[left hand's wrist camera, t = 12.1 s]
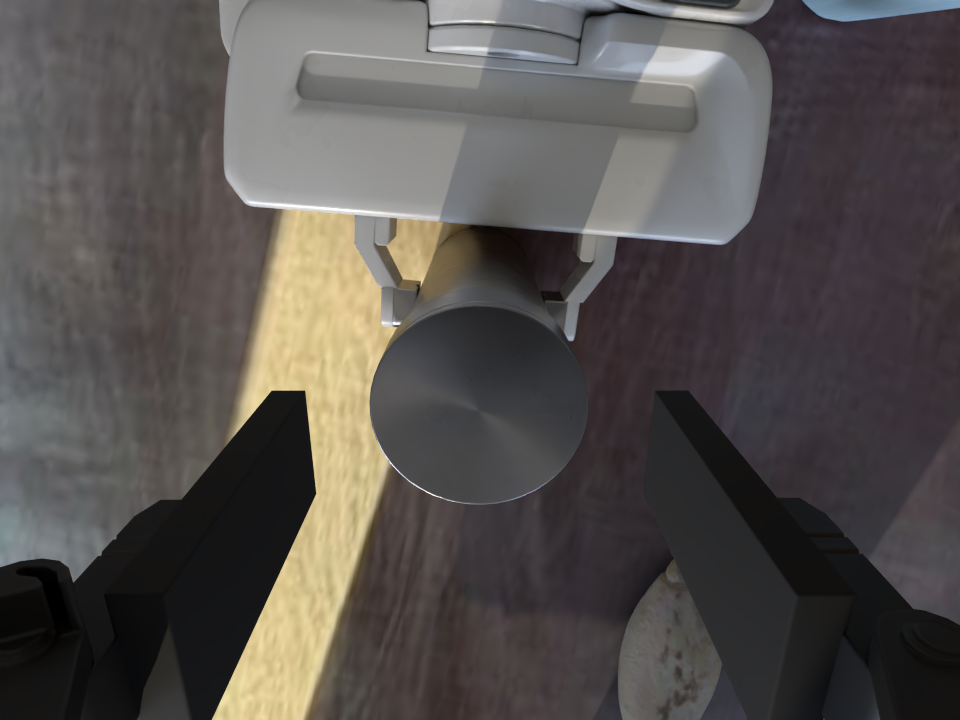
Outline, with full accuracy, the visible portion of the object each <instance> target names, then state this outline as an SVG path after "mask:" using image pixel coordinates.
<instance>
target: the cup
mask: <svg viewBox="0 0 960 720" xmlns="http://www.w3.org/2000/svg"><path fill="white" fill-rule="evenodd" d="M802 1H803V2H804V3H805V4H806V5H807V6H808V7H809V8H810V9H811V10H812V11H814V12H815V13H816V14H817V15H819V16H821V17H823V18H826V19H832V20H837V21H856V20H865V19H874V18H882V17H890V16H898V15H906V14H914V13H922V12H930V11H938V10H946V9H954V8H960V0H802Z"/></svg>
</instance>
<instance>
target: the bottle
mask: <svg viewBox="0 0 960 720" xmlns="http://www.w3.org/2000/svg"><path fill="white" fill-rule="evenodd" d="M473 287H480V288H494V289H500V290H504V291H508V292H511V293H515V294H517V295H519V296H522V297H524V298H526V299H528V300H530V301H531V302H533V303H535V304H536V305H538V306H539V307H541V308H542V309H543V310H544V311H546V312H547V313H548V311H547V309H546V306H545V304H544V301H543V299H542V296H541V294H540V291H539V289H538V286H537V284H536V281H535V279H534V276H533V274H532V271H531V269H530V266H529V264H528V261H527V259H526V257H525V255H524V253H523V251H522V250H521V248H520V247H519V246H518V245H517V244H516V243H515V241H513V240H512V239H511V238H510V237H508V236H507V235H505V234H503V233H501V232H499V231H496V230H493V229H488V228H470V229H466V230H463V231H460V232H458V233H456V234H454V235H452V236H451V237H449V238H448V239H447V240H446V241H445V242H444V243H443V244H442V245H441V246H440V247H439V248H438V250H437V251H436V253H435V255H434V257H433V259H432V262H431V264H430V266H429V269H428V271H427V274H426V276H425V279H424V281H423V284H422V286H421V288H420V291H419V293H418V296H417V298H416V301H415V303H414V306H413V308H412V311H414V310H415V309H416V308H418V307H419V306H420V305H422V304H423V303H425V302H427V301H429V300H430V299H432V298H434V297H436V296H439V295H441V294H444V293H446V292H450V291H454V290H458V289H464V288H473ZM412 311H411V312H412Z"/></svg>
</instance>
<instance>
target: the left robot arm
mask: <svg viewBox="0 0 960 720" xmlns="http://www.w3.org/2000/svg"><path fill="white" fill-rule="evenodd" d="M315 495H316V488H315V478H314V469H313V460H312V451H311V441H310V432H309V423H308V414H307V404H306V395H305V391H271V392H270V394H269V395H268V396H267V397H266V398H265V400H264V401H263V402H262V403H261V404H260V406H259V407H258V408H257V409H256V410H255V412H254V413H253V414H252V415H251V417H250V418H249V419H248V420H247V421H246V423H245V424H244V425H243V426H242V427H241V429H240V430H239V431H238V432H237V433H236V435H235V436H234V437H233V438H232V439H231V441H230V442H229V443H228V444H227V446H226V447H225V448H224V449H223V450H222V452H221V453H220V454H219V455H218V456H217V458H216V459H215V460H214V461H213V462H212V464H211V465H210V466H209V467H208V468H207V470H206V471H205V472H204V473H203V475H202V476H201V477H200V478H199V479H198V481H197V482H196V483H195V484H194V485H193V487H192V488H191V489H190V490H189V491H188V493H187V494H186V495H185V496H184V497H183V499H182V500H160V501H158V502H157V503H155V504H153V505H152V506H150V507H149V508H147V509H145V510H144V511H142V512H141V513H139V514H137V515H136V516H134V517H133V519H132V520H131V521H130V522H129V523H128V524H127V525H126V526H125V527H124V528H123V529H122V531H121V532H120V533H119V534H118V535H117V539H116V540H112V541H111V543H110V544H109V545H108V546H107V547H106V548H105V549H104V550H103V551H102V555H101V556H98V557H97V558H96V559H95V560H94V561H93V562H92V563H91V564H90V565H89V567H88V568H87V569H86V570H85V571H84V572H83V573H82V574H81V575H80V576H79V577H78V579H77V580H76V581H75V582H74V583H73V581H72V577H71V574H70V570H69V568H68V567H67V566H65V565H64V564H63V563H61V562H60V561H56V560H49V559H35V560H27V561H20V562H16V563H13V564H10V565H7V566H3V567H0V720H212V718H213V716H214V714H215V712H216V709H217V707H218V705H219V703H220V701H221V699H222V696H223V694H224V692H225V690H226V688H227V686H228V683H229V681H230V679H231V677H232V675H233V673H234V670H235V668H236V666H237V664H238V662H239V660H240V657H241V655H242V653H243V651H244V649H245V647H246V644H247V642H248V640H249V638H250V636H251V634H252V631H253V629H254V627H255V625H256V623H257V621H258V618H259V616H260V614H261V612H262V610H263V608H264V606H265V603H266V601H267V599H268V597H269V595H270V593H271V590H272V588H273V586H274V584H275V582H276V580H277V577H278V575H279V573H280V571H281V569H282V567H283V564H284V562H285V560H286V558H287V556H288V554H289V551H290V549H291V547H292V545H293V543H294V541H295V538H296V536H297V534H298V532H299V530H300V528H301V525H302V523H303V521H304V519H305V517H306V515H307V512H308V510H309V508H310V506H311V504H312V502H313V500H314V497H315ZM644 495H645V497H646V500H647V502H648V504H649V506H650V508H651V510H652V512H653V515H654V517H655V519H656V521H657V523H658V525H659V528H660V530H661V532H662V534H663V536H664V538H665V541H666V543H667V545H668V547H669V549H670V551H671V554H672V556H673V558H674V560H675V562H676V564H677V567H678V569H679V571H680V573H681V575H682V577H683V580H684V582H685V584H686V586H687V588H688V590H689V593H690V595H691V597H692V599H693V601H694V603H695V606H696V608H697V610H698V612H699V614H700V616H701V619H702V621H703V623H704V625H705V627H706V629H707V631H708V634H709V636H710V638H711V640H712V642H713V644H714V647H715V649H716V651H717V653H718V655H719V657H720V660H721V662H722V664H723V666H724V668H725V670H726V673H727V675H728V677H729V679H730V681H731V683H732V686H733V688H734V690H735V692H736V694H737V696H738V699H739V701H740V703H741V705H742V707H743V709H744V712H745V714H746V716H747V718H748V720H823V718H824V719H825V720H960V625H958V624H956V623H955V622H953V621H951V620H949V619H947V618H944V617H941V616H938V615H936V614H933V613H930V612H927V611H924V610H916V609H913V608H912V607H911V606H910V605H909V604H908V603H907V602H906V601H905V599H904V598H903V597H902V596H901V595H900V594H899V593H898V592H897V591H896V590H895V589H894V588H893V586H892V585H891V584H890V583H889V582H888V581H887V580H886V579H885V578H884V577H883V576H882V575H881V573H880V572H879V571H878V570H877V569H876V568H875V567H874V566H873V565H872V564H871V563H870V562H869V560H868V559H867V558H866V557H865V556H864V555H863V554H859V550H858V549H857V547H856V546H855V545H854V544H853V543H852V542H851V541H850V540H849V539H848V538H844V533H843V532H842V531H841V530H840V529H839V528H838V527H837V526H836V525H835V524H834V523H833V521H832V520H831V519H830V518H829V517H828V516H827V515H826V514H825V513H823V512H821V511H820V510H818V509H817V508H815V507H813V506H812V505H810V504H808V503H807V502H805V501H804V500H802V499H800V498H777V497H776V496H775V495H774V494H773V493H772V491H771V490H770V489H769V488H768V487H767V485H766V484H765V483H764V482H763V481H762V479H761V478H760V477H759V476H758V475H757V473H756V472H755V471H754V470H753V468H752V467H751V466H750V465H749V464H748V462H747V461H746V460H745V459H744V458H743V456H742V455H741V454H740V453H739V452H738V450H737V449H736V448H735V447H734V446H733V444H732V443H731V442H730V441H729V439H728V438H727V437H726V436H725V435H724V433H723V432H722V431H721V430H720V429H719V427H718V426H717V425H716V424H715V423H714V421H713V420H712V419H711V418H710V417H709V415H708V414H707V413H706V412H705V410H704V409H703V408H702V407H701V406H700V404H699V403H698V402H697V401H696V400H695V398H694V397H693V396H692V395H691V394H690V392H689V391H655V395H654V404H653V414H652V423H651V432H650V441H649V451H648V460H647V469H646V478H645V488H644Z"/></svg>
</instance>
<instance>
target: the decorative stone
mask: <svg viewBox="0 0 960 720" xmlns="http://www.w3.org/2000/svg"><path fill="white" fill-rule="evenodd" d="M721 666H722V662H721V660H720V657H719V655H718V653H717V651H716V649H715V647H714V644H713V642H712V640H711V638H710V636H709V634H708V631H707V629H706V627H705V625H704V623H703V621H702V619H701V616H700V614H699V612H698V610H697V608H696V606H695V603H694V601H693V599H692V597H691V595H690V593H689V590H688V588H687V586H686V584H685V582H684V580H683V577H682V575H681V573H680V571H679V569H678V567H677V564H676V562H675V560H674V559H673V560H672V561H671V563H670V564H669V565H668V567H667V569H666V571H665V572H662V573H661V574H660V575H659V576H658V577H657V579H656V580H655V581H654V582H653V583H652V585H651V586H650V587H649V588H648V590H647V591H646V593H645V594H644V596H643V597H642V598H641V599H640V601H639V603H638V605H637V606H636V608H635V610H634V612H633V614H632V615H631V618H630V620H629V622H628V625H627V628H626V630H625V634H624V637H623V642H622V646H621V652H620V657H619V664H618V695H619V705H620V710H621V714H622V718H623V720H700V719H701V717H702V715H703V713H704V711H705V709H706V708H707V705H708V704H709V702H710V700H711V698H712V696H713V693H714V691H715V688H716V685H717V682H718V679H719V675H720V671H721Z"/></svg>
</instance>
